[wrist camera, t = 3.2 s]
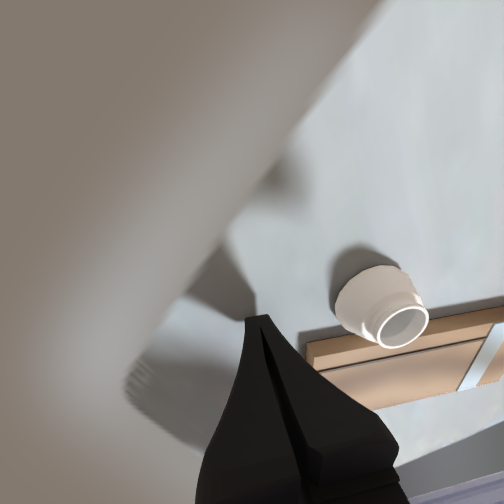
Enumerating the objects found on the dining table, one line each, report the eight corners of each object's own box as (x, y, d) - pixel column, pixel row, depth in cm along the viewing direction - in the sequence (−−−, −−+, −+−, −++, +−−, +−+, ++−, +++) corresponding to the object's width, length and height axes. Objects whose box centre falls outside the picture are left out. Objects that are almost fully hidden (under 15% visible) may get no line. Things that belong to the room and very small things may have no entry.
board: (482, 369, 20) (499, 382, 19) (302, 409, 18) (308, 426, 17) (523, 302, 17) (546, 313, 16) (306, 342, 15) (314, 359, 14)
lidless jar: (411, 296, 15) (388, 246, 13) (454, 327, 12) (434, 271, 10) (350, 335, 15) (318, 294, 13) (378, 373, 13) (344, 329, 11)
